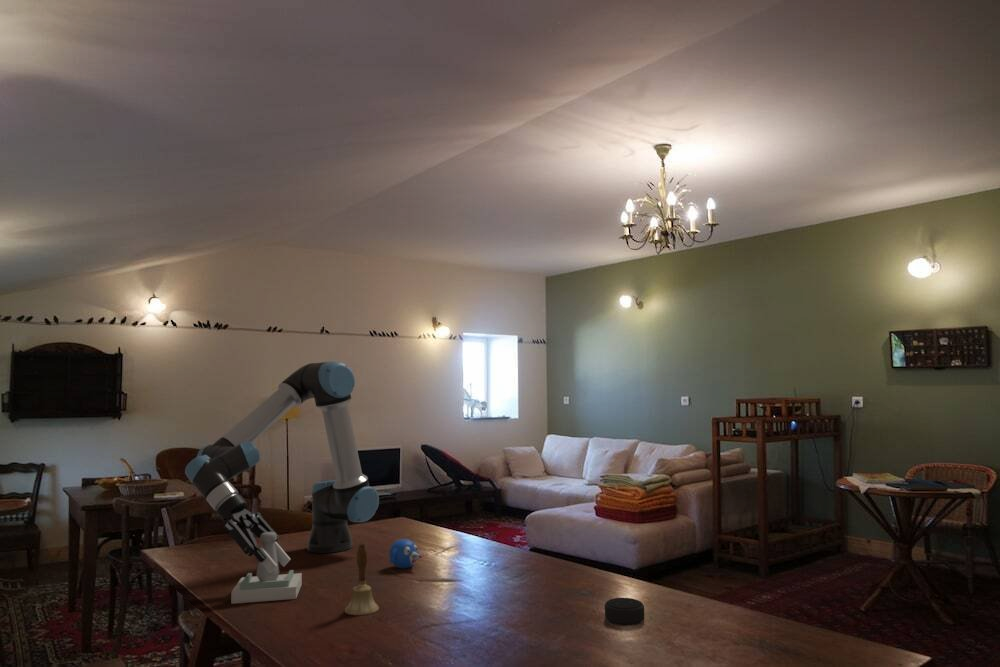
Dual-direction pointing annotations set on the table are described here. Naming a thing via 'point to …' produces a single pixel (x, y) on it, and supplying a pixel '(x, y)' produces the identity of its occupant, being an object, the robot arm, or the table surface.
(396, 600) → the table surface
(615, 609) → the smart speaker
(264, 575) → the salt shaker
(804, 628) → the table surface
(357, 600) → the hand bell
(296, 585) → the dock
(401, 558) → the blue rounded piece
